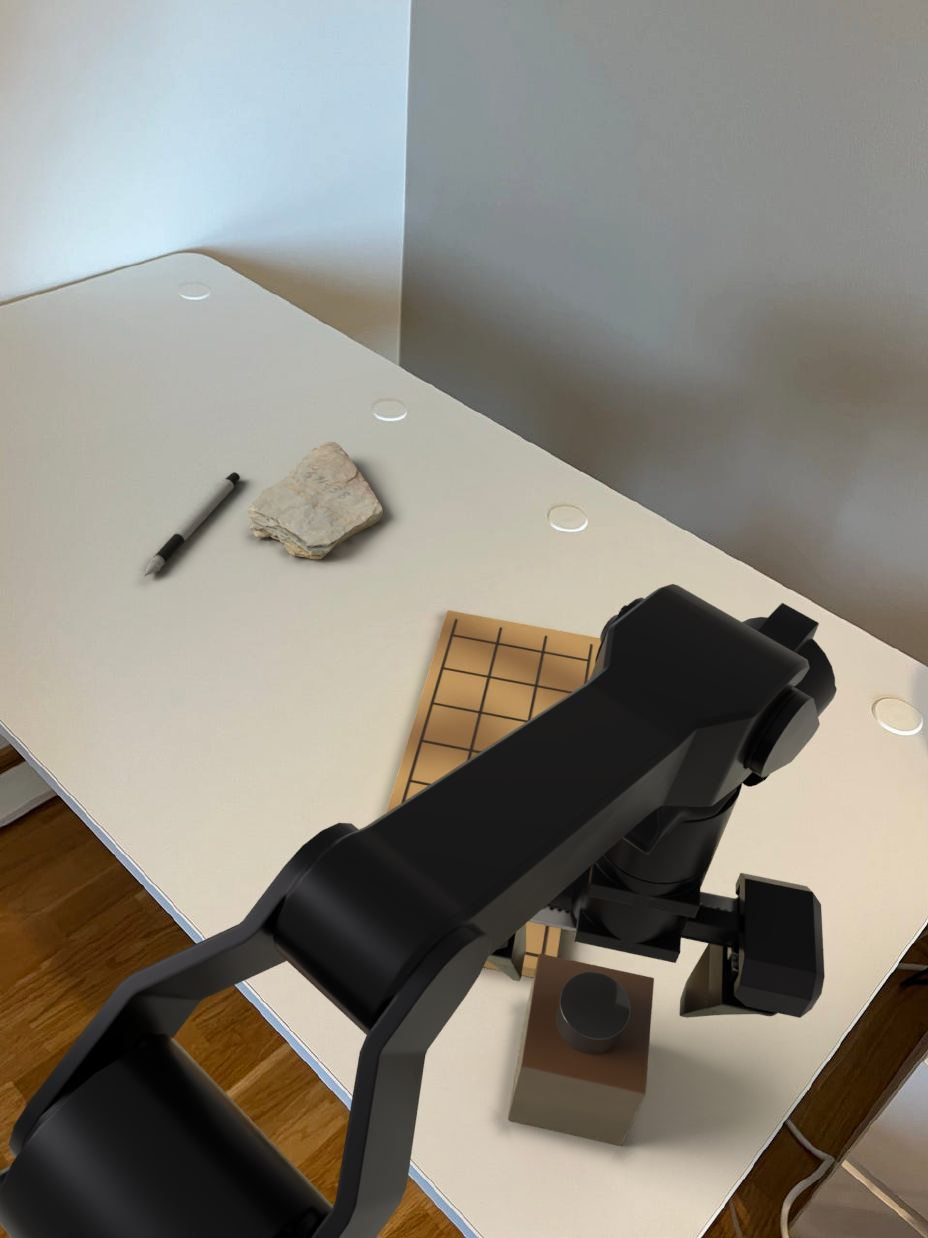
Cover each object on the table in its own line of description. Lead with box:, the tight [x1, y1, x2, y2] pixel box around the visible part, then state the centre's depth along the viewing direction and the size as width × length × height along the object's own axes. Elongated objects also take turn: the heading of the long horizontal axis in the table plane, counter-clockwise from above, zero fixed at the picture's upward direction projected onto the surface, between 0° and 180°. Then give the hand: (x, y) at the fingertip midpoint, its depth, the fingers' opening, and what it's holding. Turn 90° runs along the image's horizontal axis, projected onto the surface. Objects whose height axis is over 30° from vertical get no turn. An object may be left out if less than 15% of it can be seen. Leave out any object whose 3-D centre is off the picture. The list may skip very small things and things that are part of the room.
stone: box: [246, 441, 384, 560], centre depth 104 cm, size 15×11×3 cm
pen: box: [144, 471, 241, 577], centre depth 102 cm, size 1×16×1 cm, turn 159°
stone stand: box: [507, 954, 655, 1147], centre depth 64 cm, size 7×7×8 cm
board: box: [385, 609, 601, 978], centre depth 83 cm, size 32×14×1 cm, turn 169°
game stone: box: [556, 972, 630, 1054], centre depth 61 cm, size 4×4×2 cm
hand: (599, 990), depth 59 cm, fingers open, 9 cm apart
